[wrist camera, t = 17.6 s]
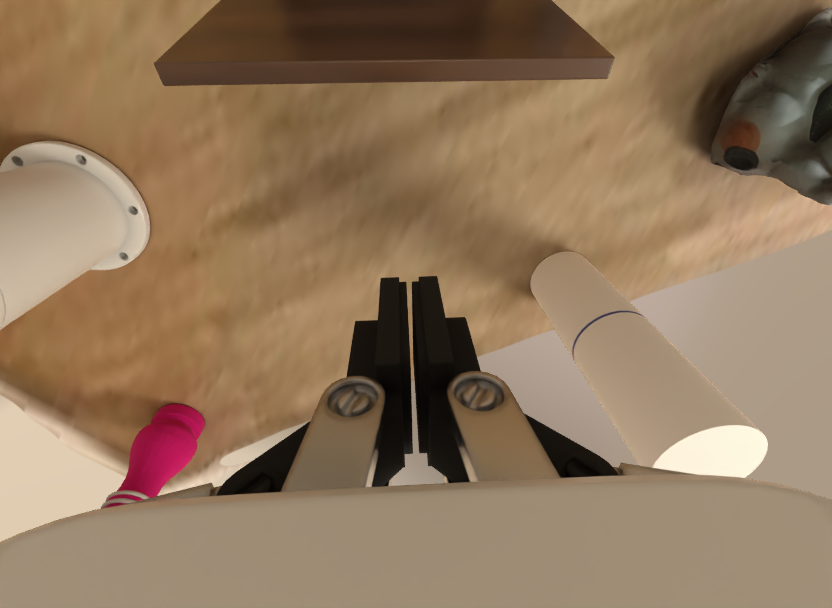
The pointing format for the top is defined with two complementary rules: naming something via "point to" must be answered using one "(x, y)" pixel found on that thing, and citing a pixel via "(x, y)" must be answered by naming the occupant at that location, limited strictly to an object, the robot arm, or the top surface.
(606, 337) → the cylindrical container
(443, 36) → the lid
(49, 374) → the top surface
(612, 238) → the top surface
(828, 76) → the lucky cat figurine
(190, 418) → the pepper mill
